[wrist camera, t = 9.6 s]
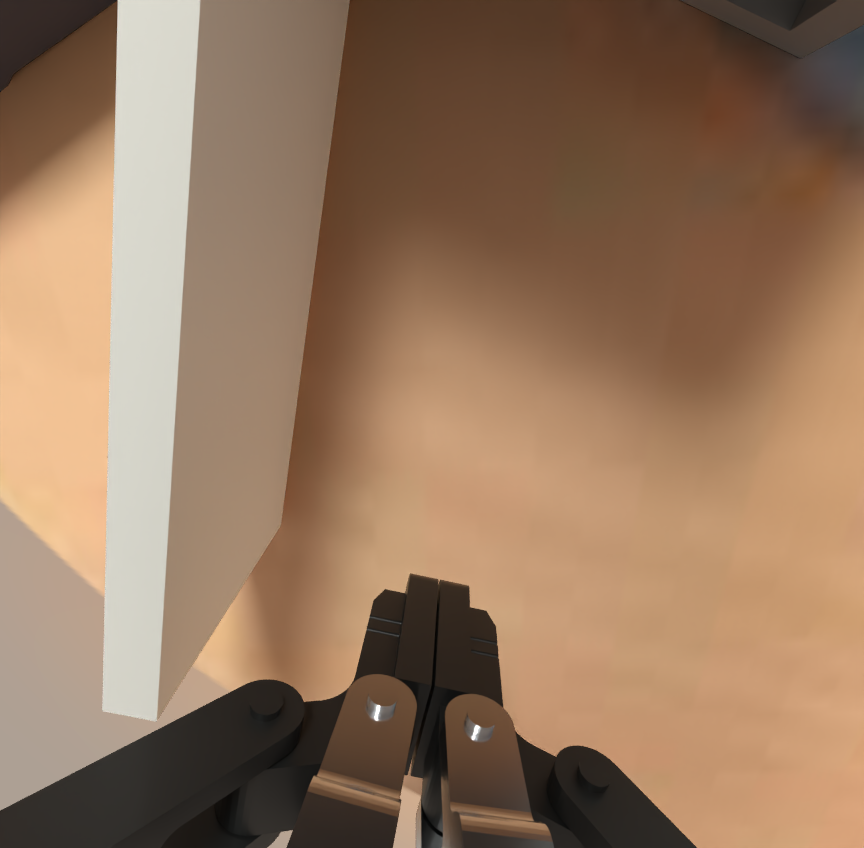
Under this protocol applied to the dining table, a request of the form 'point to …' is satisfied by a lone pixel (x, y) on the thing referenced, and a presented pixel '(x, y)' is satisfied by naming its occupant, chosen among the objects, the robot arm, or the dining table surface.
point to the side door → (206, 311)
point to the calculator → (38, 28)
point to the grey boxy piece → (789, 20)
